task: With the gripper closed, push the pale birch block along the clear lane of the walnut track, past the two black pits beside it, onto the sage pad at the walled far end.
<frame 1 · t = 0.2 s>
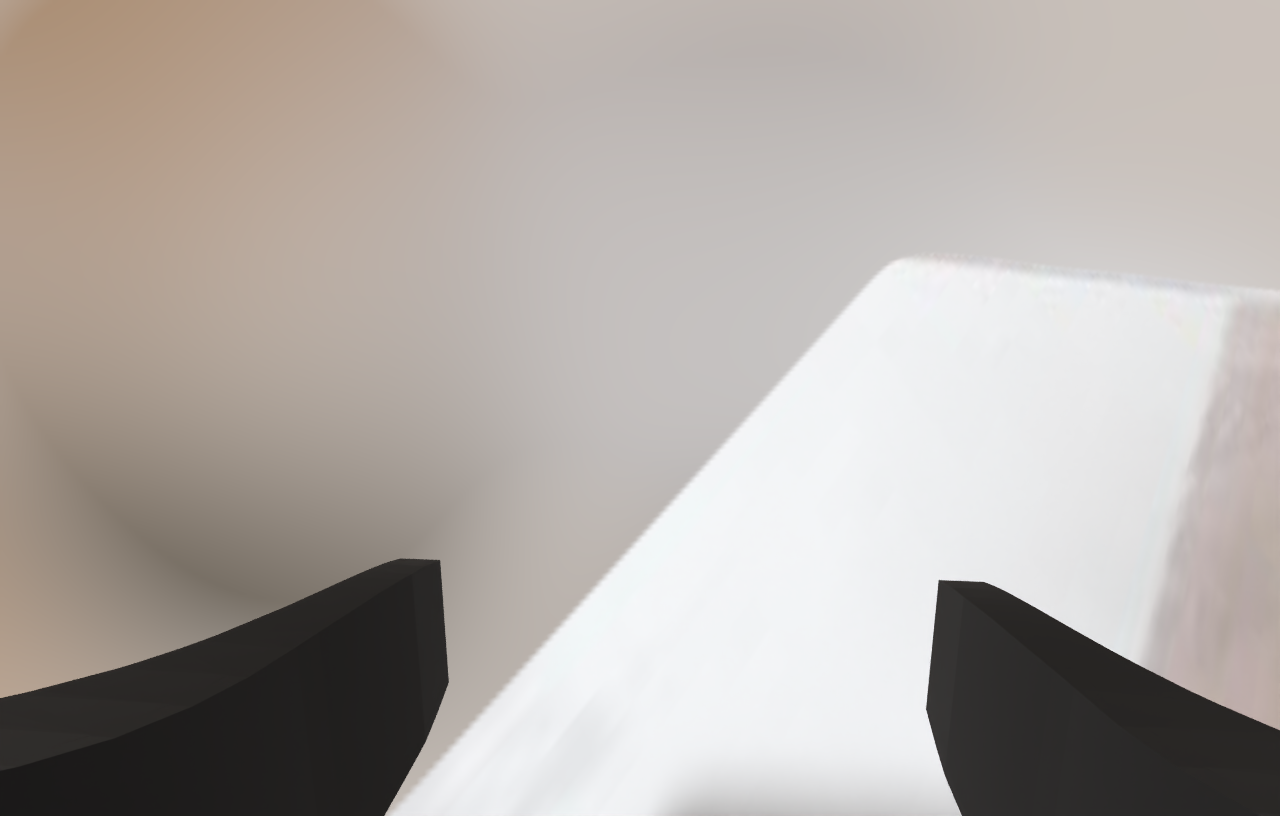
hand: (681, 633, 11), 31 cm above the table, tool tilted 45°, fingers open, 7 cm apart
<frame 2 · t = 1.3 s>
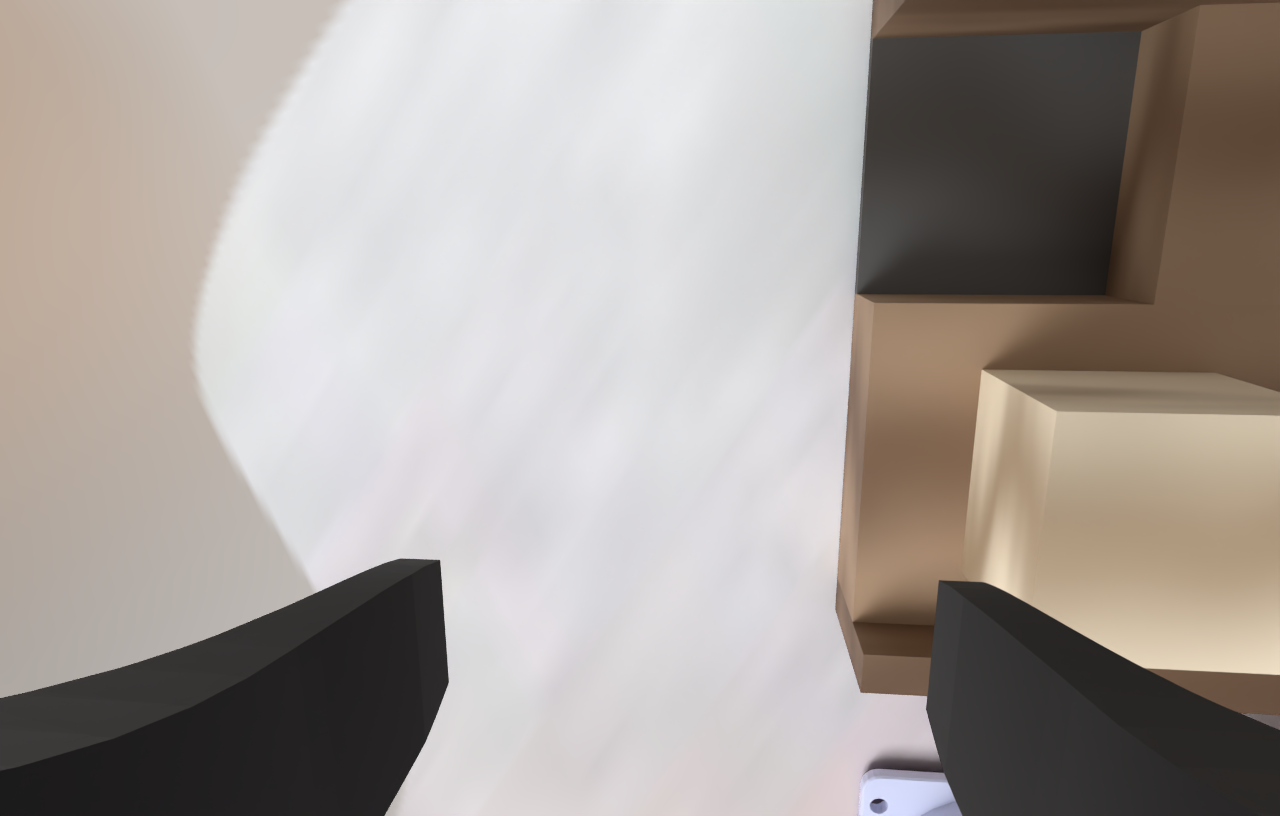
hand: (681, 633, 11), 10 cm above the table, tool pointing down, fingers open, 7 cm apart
birch block: (1082, 476, 18), point 2 cm above the table, touching trap track
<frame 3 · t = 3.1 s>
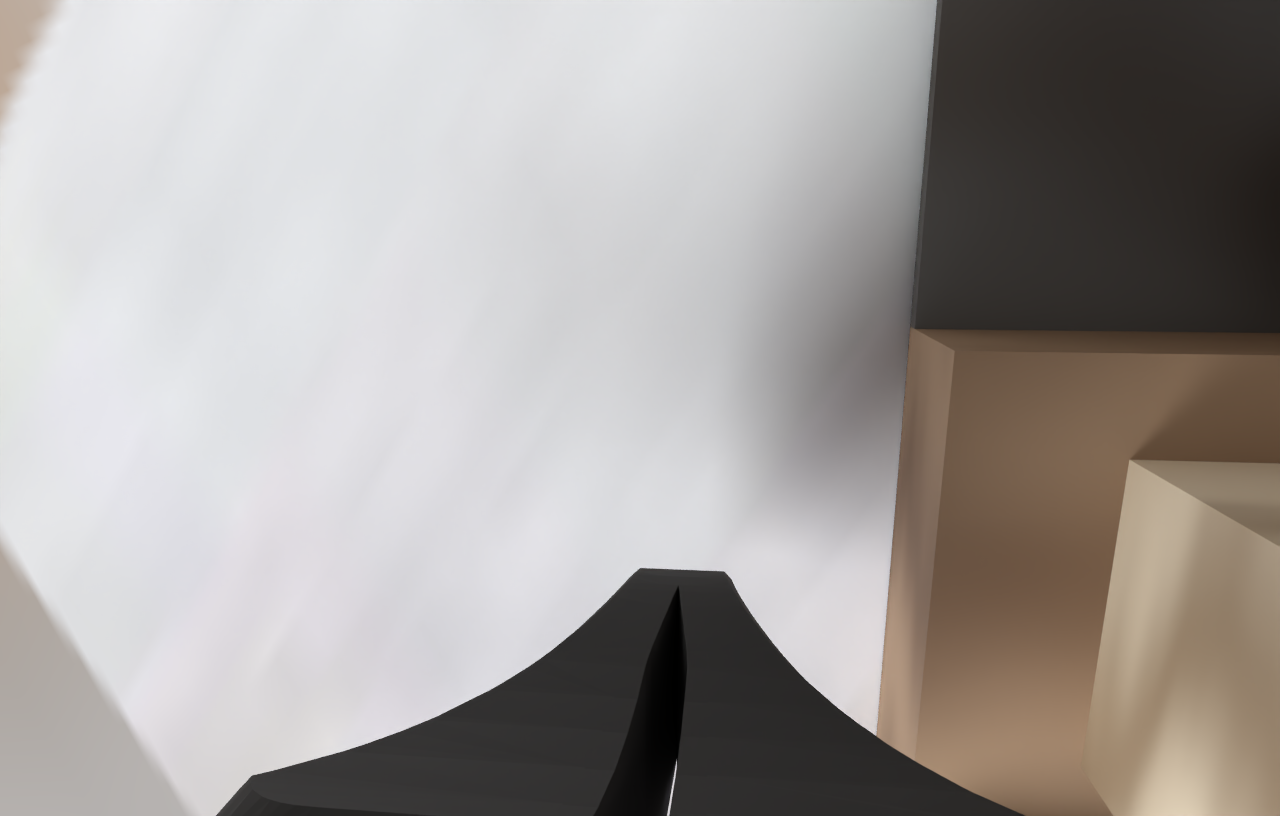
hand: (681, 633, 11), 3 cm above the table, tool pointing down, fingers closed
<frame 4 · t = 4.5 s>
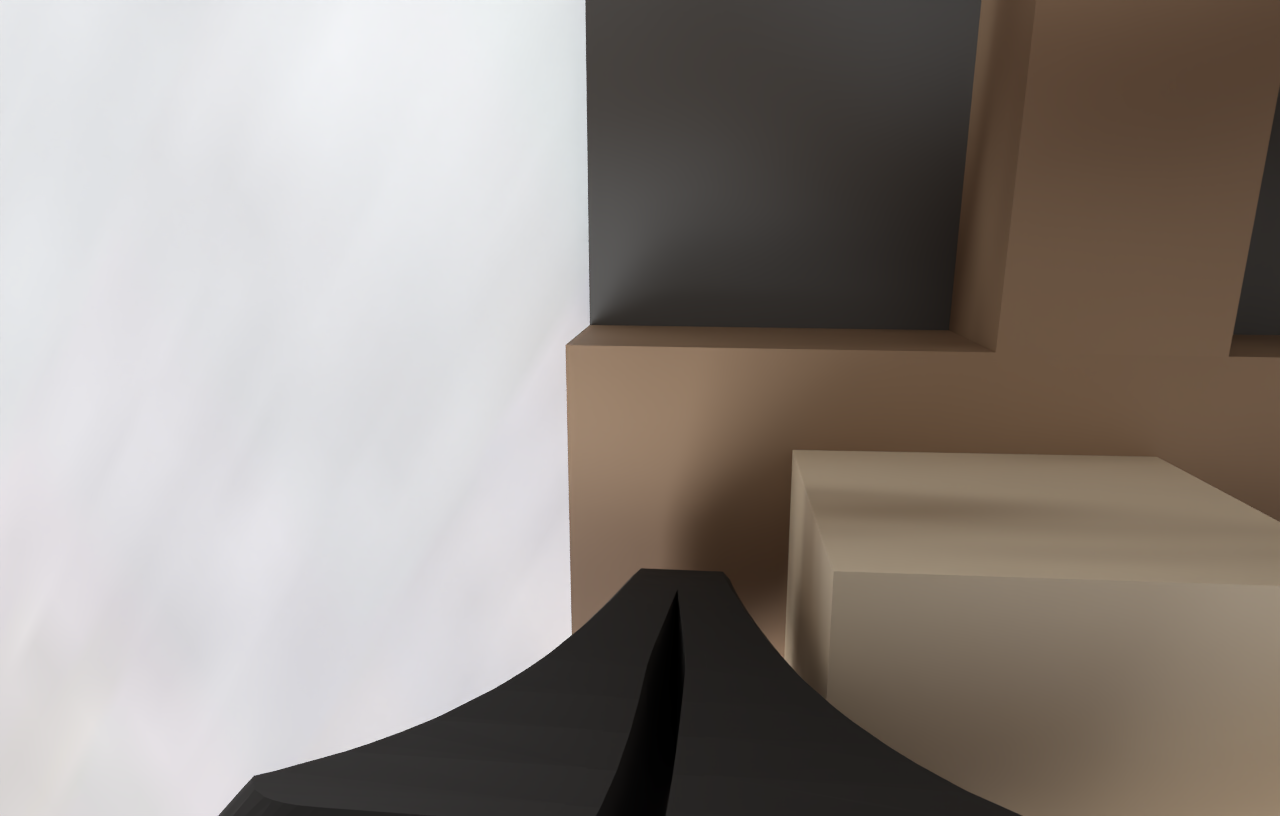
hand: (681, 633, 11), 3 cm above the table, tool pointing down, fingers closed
trap track: (1248, 392, 13), on the table
birch block: (955, 612, 11), point 2 cm above the table, touching gripper, trap track
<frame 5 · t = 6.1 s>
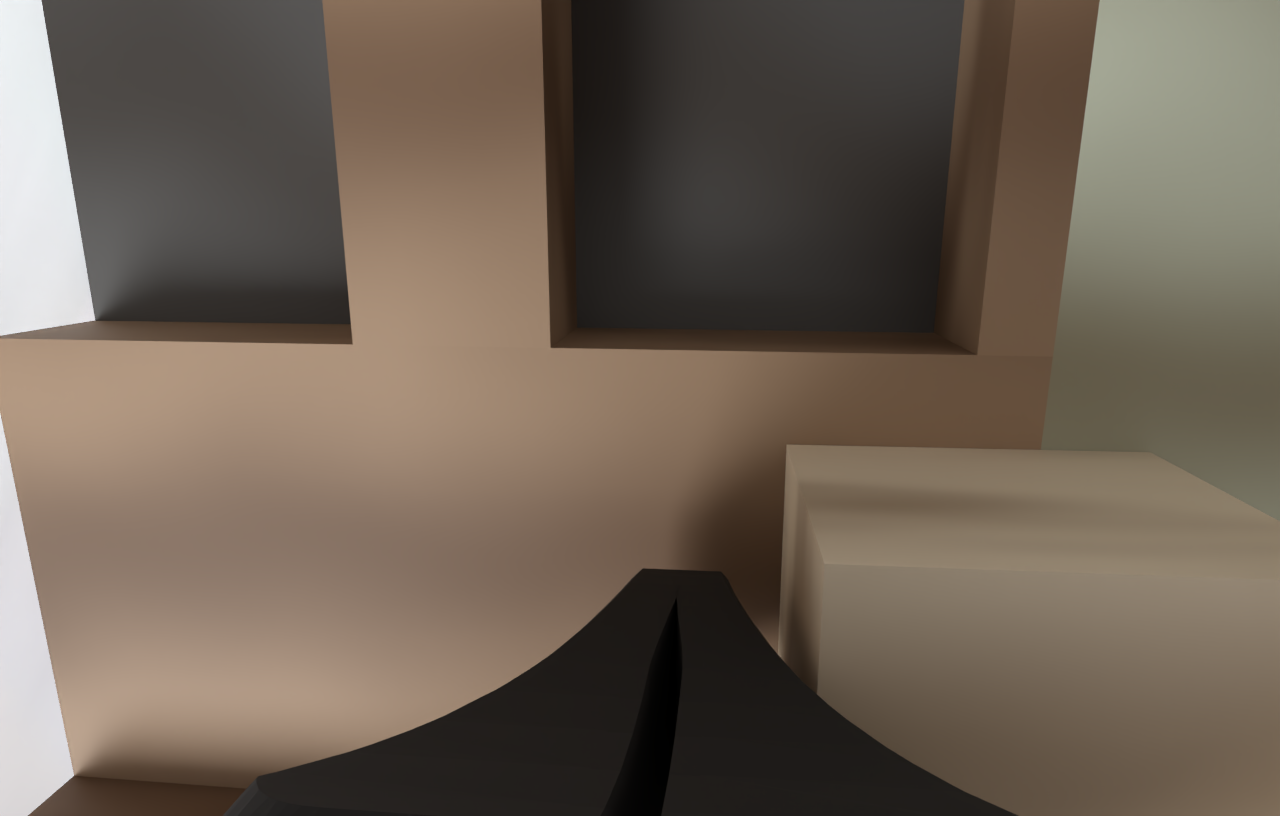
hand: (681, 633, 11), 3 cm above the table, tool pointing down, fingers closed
trap track: (692, 382, 14), on the table
birch block: (948, 607, 11), point 3 cm above the table, touching gripper
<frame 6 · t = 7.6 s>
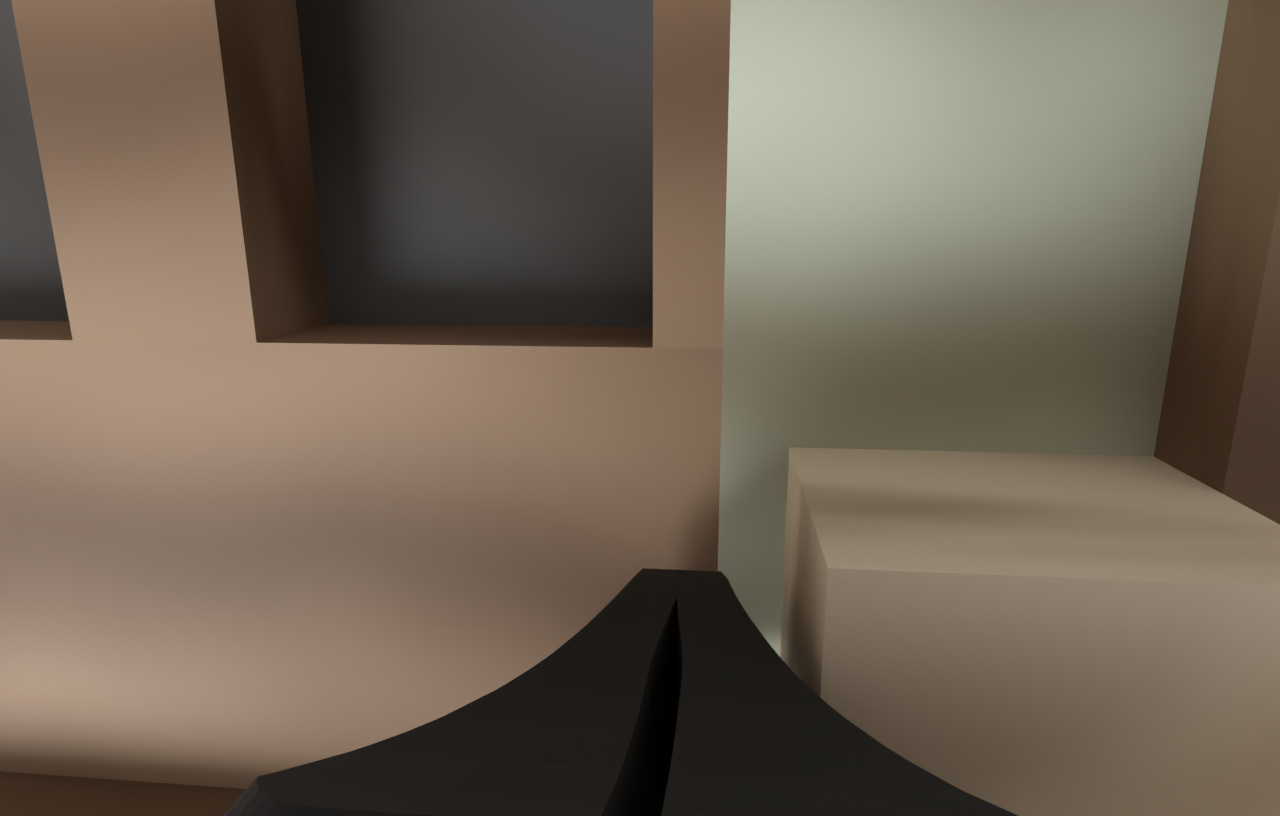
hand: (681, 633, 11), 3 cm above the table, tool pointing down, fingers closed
trap track: (446, 377, 14), on the table
birch block: (950, 611, 11), point 2 cm above the table, touching gripper, trap track
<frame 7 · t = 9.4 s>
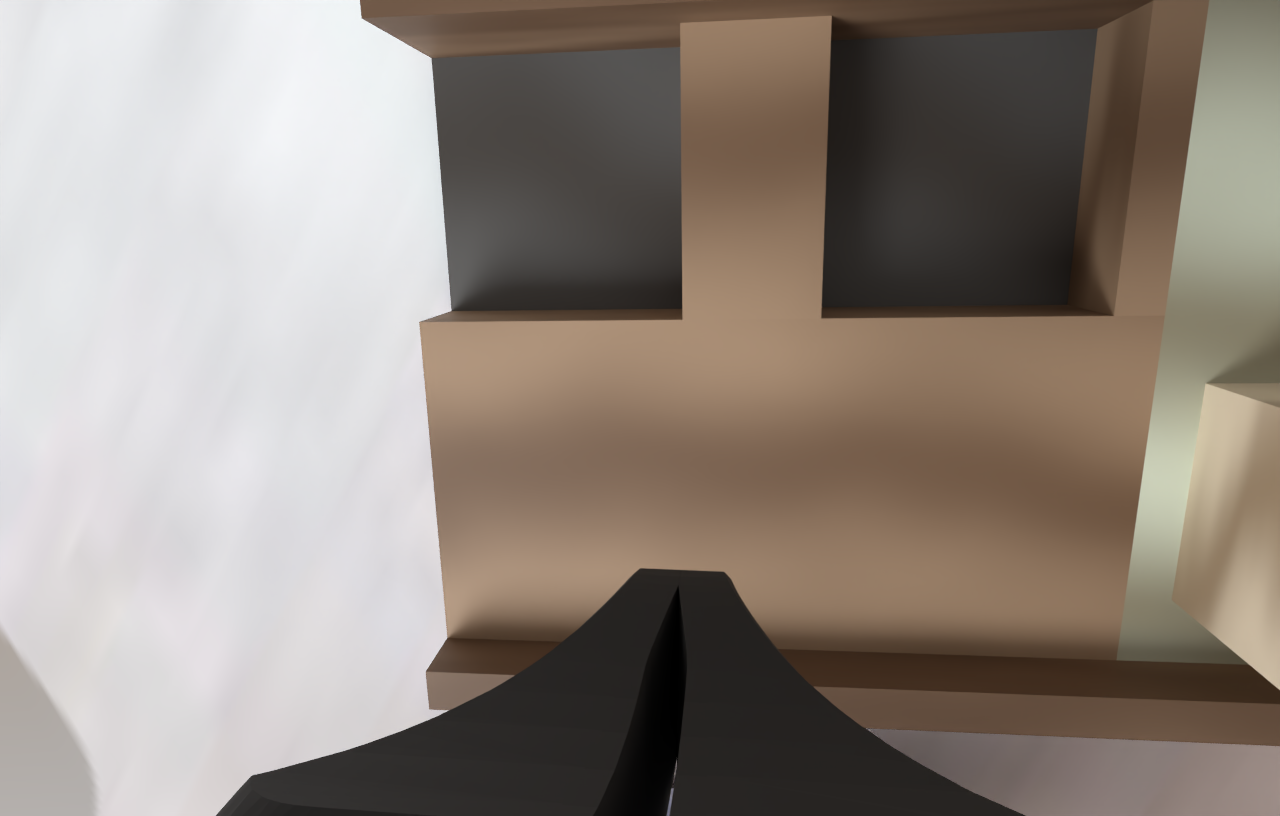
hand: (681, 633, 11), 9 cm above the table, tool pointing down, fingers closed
trap track: (888, 345, 19), on the table
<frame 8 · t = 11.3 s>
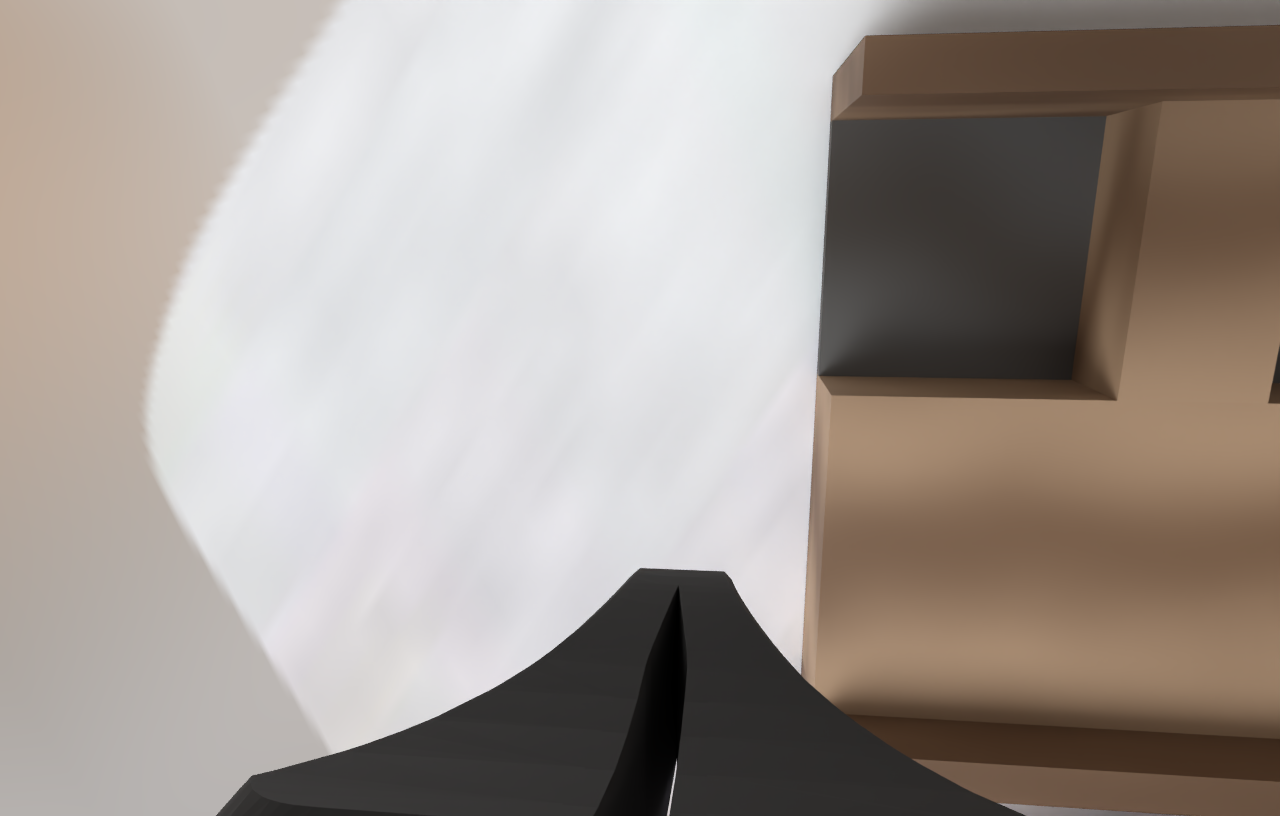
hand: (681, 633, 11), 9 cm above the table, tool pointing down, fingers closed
trap track: (1276, 421, 19), on the table
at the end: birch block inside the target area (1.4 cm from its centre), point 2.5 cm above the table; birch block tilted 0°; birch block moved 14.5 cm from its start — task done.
